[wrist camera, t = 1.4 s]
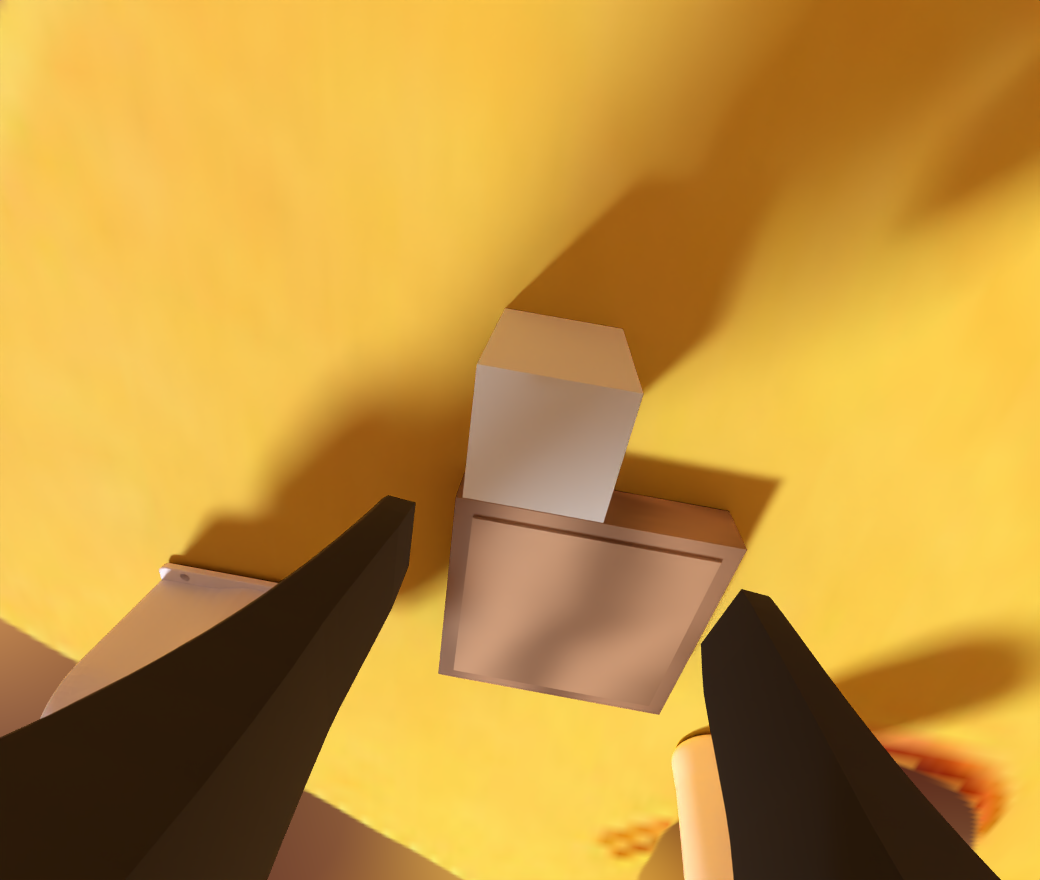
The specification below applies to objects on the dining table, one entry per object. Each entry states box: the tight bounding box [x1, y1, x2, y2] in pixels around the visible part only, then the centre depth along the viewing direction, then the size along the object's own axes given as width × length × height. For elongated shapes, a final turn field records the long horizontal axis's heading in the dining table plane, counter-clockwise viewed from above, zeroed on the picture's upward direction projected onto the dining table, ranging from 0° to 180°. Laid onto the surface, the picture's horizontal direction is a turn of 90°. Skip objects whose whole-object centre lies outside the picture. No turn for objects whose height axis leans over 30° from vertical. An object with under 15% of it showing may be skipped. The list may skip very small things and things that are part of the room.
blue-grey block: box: [463, 308, 643, 523], centre depth 16 cm, size 4×4×6 cm
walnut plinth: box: [438, 473, 747, 715], centre depth 23 cm, size 12×12×3 cm
